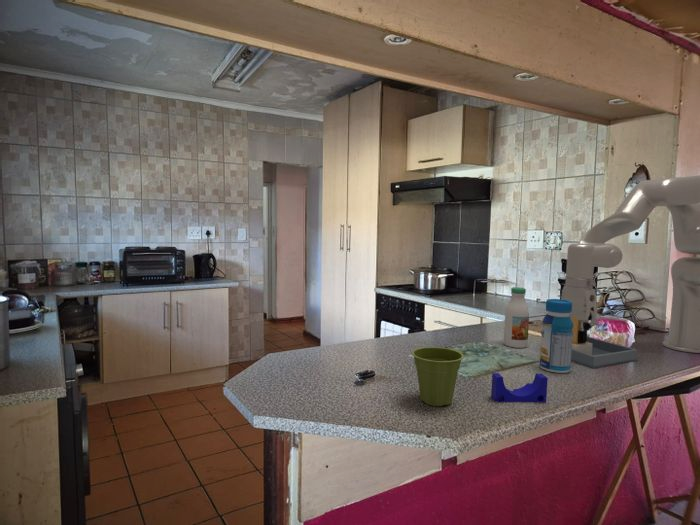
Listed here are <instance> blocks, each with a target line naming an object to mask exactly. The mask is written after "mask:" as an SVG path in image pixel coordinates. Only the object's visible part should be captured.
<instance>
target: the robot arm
mask: <svg viewBox="0 0 700 525" xmlns="http://www.w3.org/2000/svg"><path fill="white" fill-rule="evenodd" d="M657 207H666V208H667V209H668V211H669V212H670V215H671V220H672V228H673V241H674V247H675V250H676V251H677V252H679V253H682V254H688V255H700V175H689V176H688V175H687V176H678V177H677V176H676V177H668V178H657V179H656V178H655V179H646V180H642V181H639V182H638V183H637V184H636V185H634V186H633V188H632V189H631V190H630V192H629V193H628V194H627V195H626V197H625V198H624V200H623V201H622V202H621V204H620V205H619V206H618V207H617V209H616V210H615V212H614V213H613V214H611V215H610V216H607V217H606V218H605V219H603V220H601V221H599V223H596V224H595V225H594V226H592V227H591V228H590V229H589V230H587V231H586V232H585V234H583V236H582V237H581V239H580V240H579V241H578V242H577V243H571V244H570V245H568V247H567V256H566V257H567V258H566V270H565V271H566V272H565V286H563V289H562V292H561V298H560V299H562V300H568V301H571V302H572V312H571V314H569V316H570V317H574V318H578V320H579V324H580V330H579V331H578V343H586V340H587V336H588V331H590V329H592V328H594V327H595V326H597V325H599V320H598V318H597V314H598V305H597V304H598V302H597V293H596V289H595V288H594V287H596V284H597V283H596V281H594V270H595V267H597V268H603V269H610V268H614V267H616V266H618V265H619V264H621V262H622V260H623V252H622V250H621V248H620V247H618V246H617V245H615V244H613V243H612V244H611V243H607V242H608V241H610V240H611V239H615V238H617V237H621V236H623V235H627V234H630V233H633V232H635V231H637V230H638V229H640V228H641V227H642V225H643V224H644V222H645V221H646V219H648V217H649V215H650V214H651V213H652V212H653V211H654V209H655V208H657ZM670 275H671V282H672V298H671V310H670V320H669V330H668V331H669V333H668V339H667V340H664V341H662V345H663V347H665V348H668V349H671V350H673V351H674V350H675V351H679V352H684V353H695V354H700V257H696V256H684V257H679V258H678V259H676V260H675V261H674V262H673V263H672V265H671V268H670ZM584 324H585V325H584Z"/></svg>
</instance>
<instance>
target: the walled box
mask: <svg viewBox="0 0 700 525" xmlns="http://www.w3.org/2000/svg"><path fill="white" fill-rule="evenodd" d="M638 350H639V349H636V348H633V347H628V346H625V345H620V344H617V343H614V342H609V341H606V340H602V339H598V338H594V337H591V336H588V335H587V340H586V343H585V344H578V345H576V344H572V353H571V362H572V363H576V364H579V365H582V366H585V367H587V368H590V369H599V368H604V367H610V366H616V365H621V364H628V363H632V362H637V360H638Z"/></svg>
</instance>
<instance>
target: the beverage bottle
mask: <svg viewBox="0 0 700 525" xmlns="http://www.w3.org/2000/svg"><path fill="white" fill-rule="evenodd" d="M545 311H546V312H547V313H546V314H545V315H544V317H543V319H542V322H541V324H542V327H541V330H540V334H541V335H540V336H541V339H540V352H539V353H540V354H539V356H540V357H539V367H540V368H541V369H542V370H543V371H546V372H551V373H557V374H566V373H569V372H570V371H571V370H572V365H571V362H572V361H571V353H572V340H573V331H572V328H573V327H574V325H573V321H572V319H571V317H570V316H569V314H571V312H572V302H571V301H568V300H562V299H561V298H560V299H559V298H549V299H546V301H545Z"/></svg>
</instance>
